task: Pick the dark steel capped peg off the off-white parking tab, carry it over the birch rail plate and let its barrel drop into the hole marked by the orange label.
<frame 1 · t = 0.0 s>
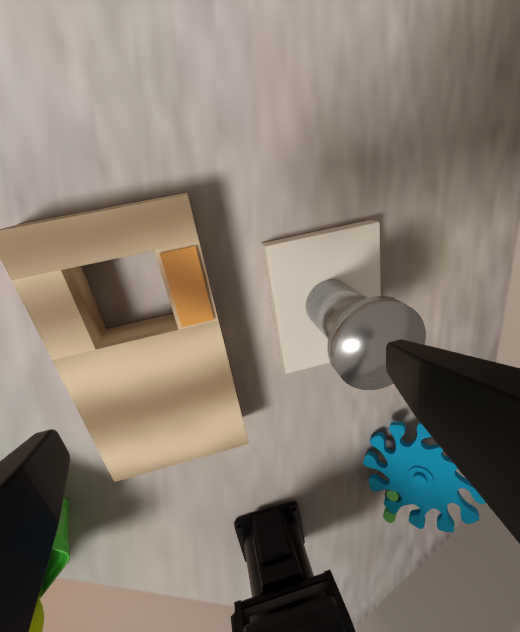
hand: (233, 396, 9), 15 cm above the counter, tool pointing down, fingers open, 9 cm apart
rail plate: (150, 339, 23), on the counter
peg: (329, 303, 24), point 1 cm above the counter, touching parking tab
fruit basket: (22, 524, 28), on the counter
gear: (393, 446, 33), on the counter
parking tab: (323, 297, 25), on the counter
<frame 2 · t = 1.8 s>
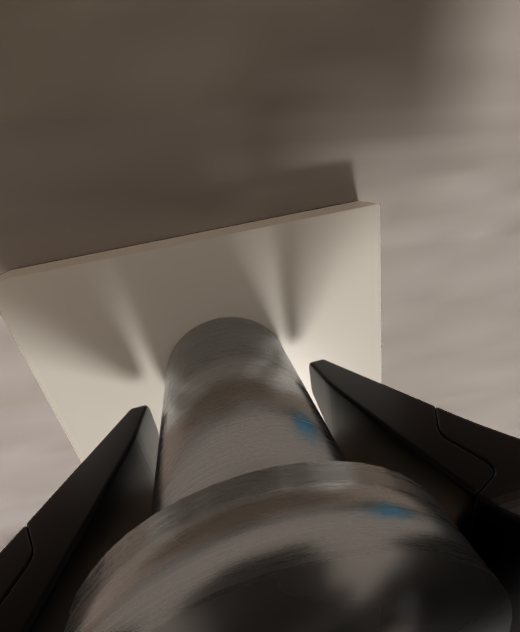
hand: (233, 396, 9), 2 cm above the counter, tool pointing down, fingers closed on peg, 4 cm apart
peg: (228, 371, 10), point 1 cm above the counter, touching gripper, parking tab
parking tab: (224, 352, 11), on the counter
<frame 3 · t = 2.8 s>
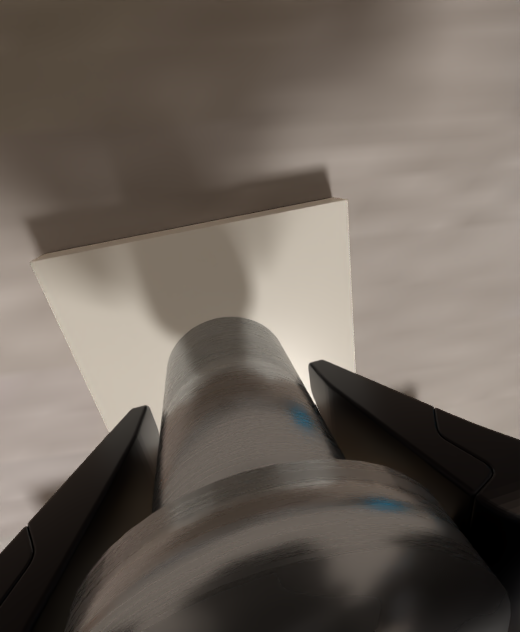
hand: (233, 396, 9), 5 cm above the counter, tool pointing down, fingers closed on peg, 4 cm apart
peg: (228, 371, 10), point 3 cm above the counter, touching gripper
parking tab: (220, 326, 13), on the counter
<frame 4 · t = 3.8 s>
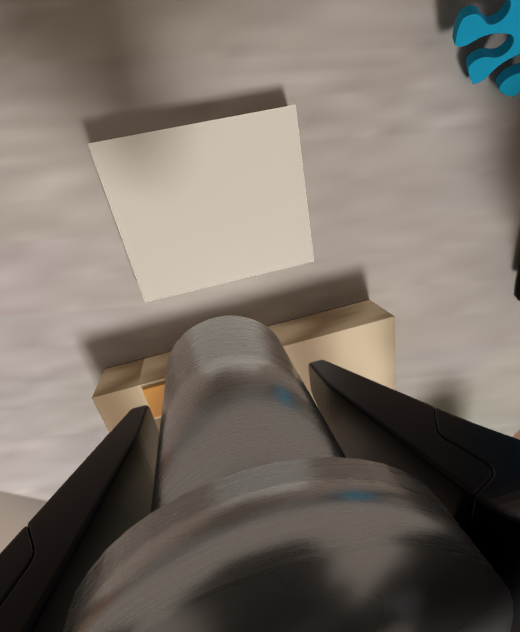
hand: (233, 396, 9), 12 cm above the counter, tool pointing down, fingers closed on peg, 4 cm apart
rail plate: (257, 393, 24), on the counter
peg: (228, 370, 10), point 11 cm above the counter, touching gripper
gear: (512, 18, 18), on the counter
parking tab: (213, 208, 18), on the counter
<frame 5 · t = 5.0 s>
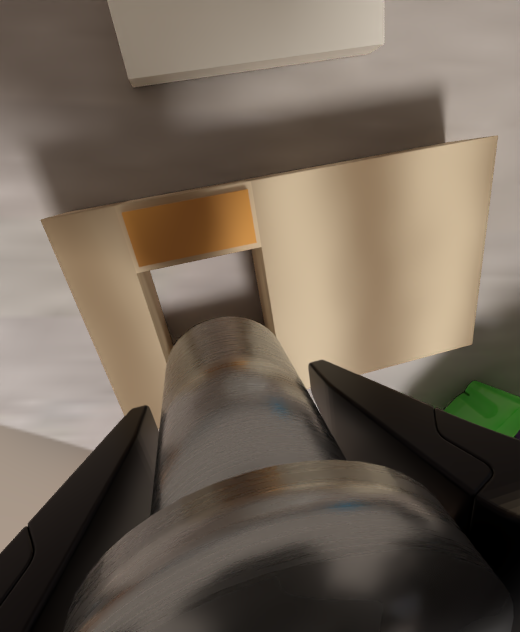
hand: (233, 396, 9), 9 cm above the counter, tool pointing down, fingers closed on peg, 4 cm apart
rail plate: (284, 277, 17), on the counter
peg: (227, 371, 10), point 8 cm above the counter, touching gripper
fruit basket: (482, 420, 25), on the counter
when the fingers open (6 cm above the counter, at t = 5.8 s): peg drops 4 cm, resting in rail plate.
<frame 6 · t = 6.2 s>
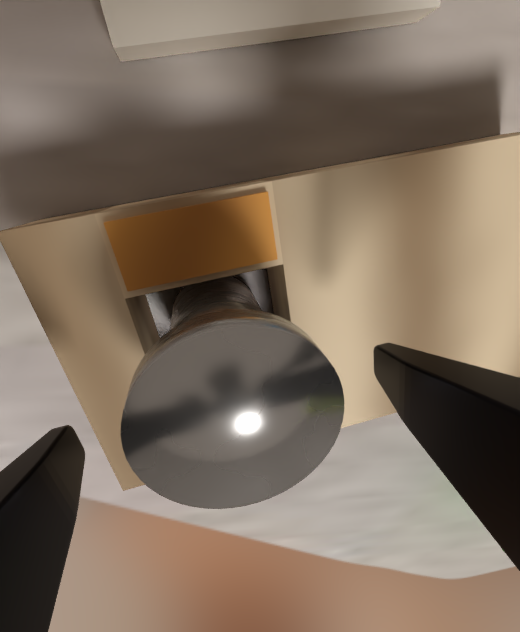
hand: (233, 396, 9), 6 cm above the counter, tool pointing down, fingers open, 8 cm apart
rail plate: (305, 295, 14), on the counter
peg: (215, 315, 14), resting in rail plate
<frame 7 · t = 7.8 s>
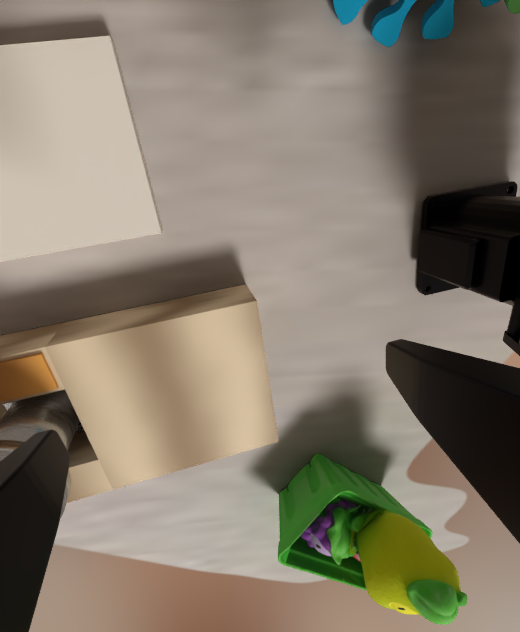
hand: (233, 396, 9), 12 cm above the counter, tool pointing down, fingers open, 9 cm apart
rail plate: (119, 387, 21), on the counter
peg: (52, 403, 20), resting in rail plate
fruit basket: (335, 482, 29), on the counter
parking tab: (32, 162, 15), on the counter
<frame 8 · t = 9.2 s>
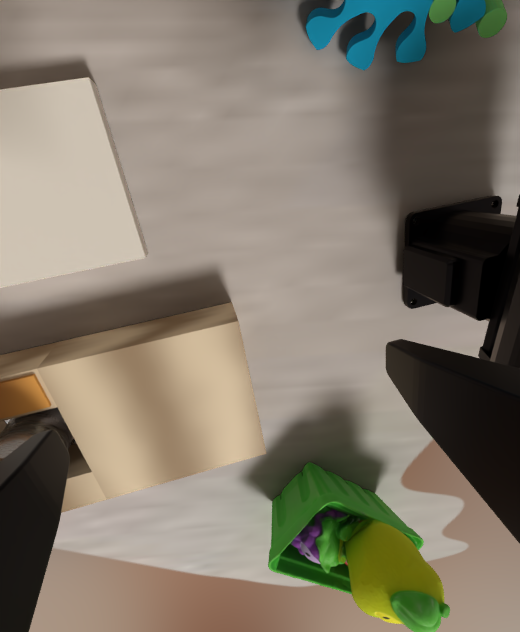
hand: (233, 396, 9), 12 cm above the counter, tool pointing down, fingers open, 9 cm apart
rail plate: (113, 402, 22), on the counter
peg: (49, 417, 21), resting in rail plate
fruit basket: (328, 490, 30), on the counter
parking tab: (22, 195, 16), on the counter
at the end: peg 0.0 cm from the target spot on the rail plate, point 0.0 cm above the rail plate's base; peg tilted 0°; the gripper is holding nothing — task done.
